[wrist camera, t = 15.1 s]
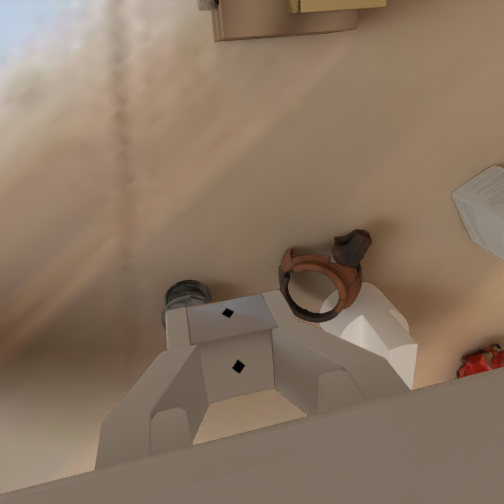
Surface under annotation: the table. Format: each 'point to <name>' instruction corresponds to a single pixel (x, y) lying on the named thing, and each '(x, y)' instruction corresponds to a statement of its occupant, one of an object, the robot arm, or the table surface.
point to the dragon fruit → (482, 362)
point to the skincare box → (484, 209)
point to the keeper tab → (331, 5)
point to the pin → (207, 5)
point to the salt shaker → (185, 296)
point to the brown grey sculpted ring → (329, 273)
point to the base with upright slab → (375, 329)
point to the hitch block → (274, 20)
